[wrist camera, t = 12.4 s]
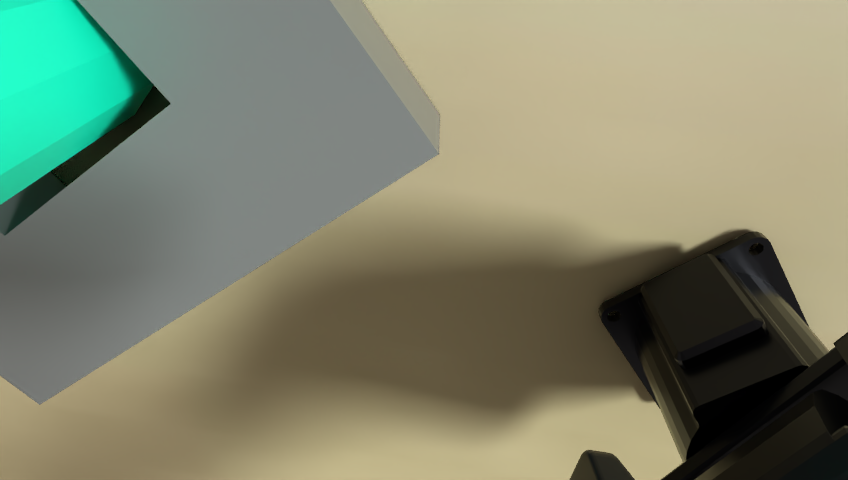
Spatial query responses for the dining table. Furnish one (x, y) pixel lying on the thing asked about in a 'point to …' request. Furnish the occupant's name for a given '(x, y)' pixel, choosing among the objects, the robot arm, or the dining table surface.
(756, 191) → the dining table surface
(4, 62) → the candle
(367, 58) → the socket block
